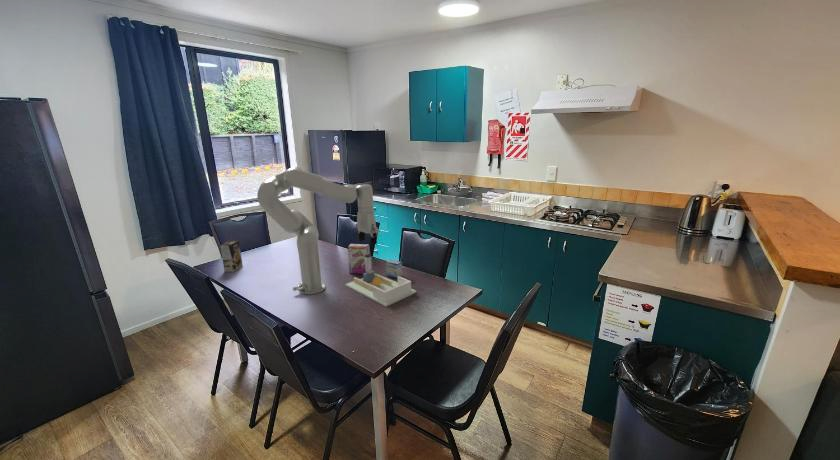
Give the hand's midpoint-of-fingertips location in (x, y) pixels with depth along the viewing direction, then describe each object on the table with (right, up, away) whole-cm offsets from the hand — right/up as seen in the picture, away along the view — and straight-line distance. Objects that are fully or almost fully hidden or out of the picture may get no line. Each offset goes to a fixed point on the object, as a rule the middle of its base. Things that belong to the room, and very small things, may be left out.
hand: (368, 242), depth 175 cm
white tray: (+6, -24, 0) cm, 25 cm away
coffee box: (-83, -17, +27) cm, 89 cm away
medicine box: (+12, -20, +16) cm, 28 cm away
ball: (+4, -20, +1) cm, 21 cm away
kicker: (0, -21, +6) cm, 22 cm away
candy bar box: (-8, -18, +21) cm, 29 cm away
